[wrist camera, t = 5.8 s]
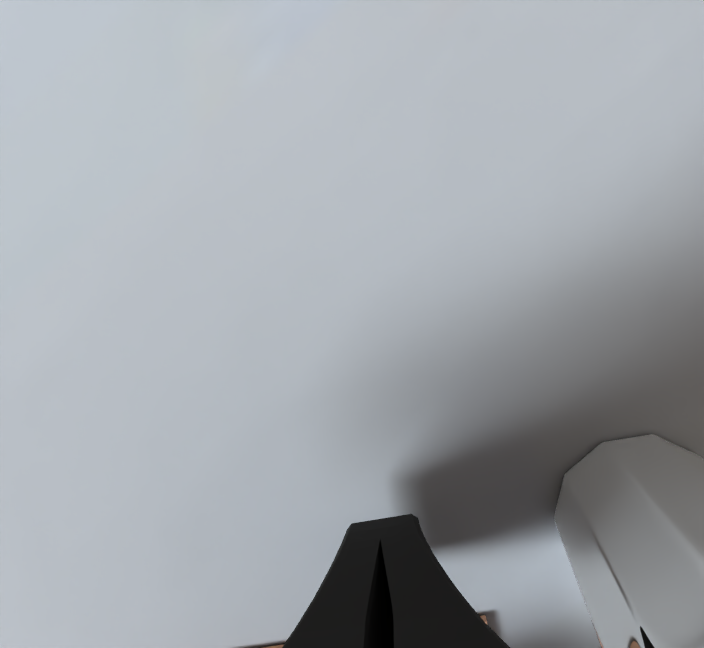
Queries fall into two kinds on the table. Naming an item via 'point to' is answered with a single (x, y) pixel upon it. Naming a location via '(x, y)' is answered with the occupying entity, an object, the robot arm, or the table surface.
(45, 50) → the table surface
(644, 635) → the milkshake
